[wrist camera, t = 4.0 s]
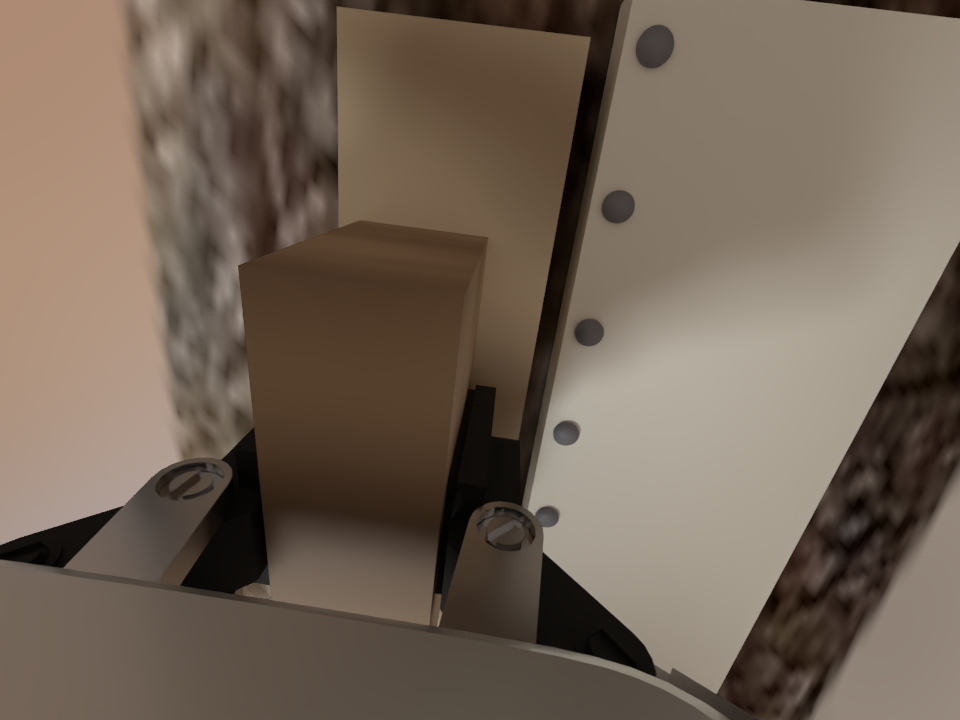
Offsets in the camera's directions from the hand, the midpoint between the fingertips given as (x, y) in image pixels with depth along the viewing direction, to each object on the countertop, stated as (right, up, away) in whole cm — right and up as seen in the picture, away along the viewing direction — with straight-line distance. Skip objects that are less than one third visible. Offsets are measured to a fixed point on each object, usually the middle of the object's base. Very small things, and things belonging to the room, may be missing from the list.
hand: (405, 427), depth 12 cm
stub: (+1, +1, +2) cm, 2 cm away
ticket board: (+8, 0, +2) cm, 8 cm away
